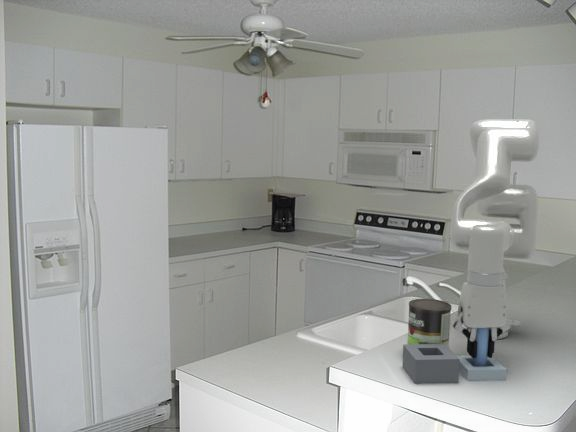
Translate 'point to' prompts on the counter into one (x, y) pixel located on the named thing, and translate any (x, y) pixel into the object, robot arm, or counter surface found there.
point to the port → (430, 363)
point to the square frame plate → (481, 370)
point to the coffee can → (429, 322)
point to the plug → (481, 347)
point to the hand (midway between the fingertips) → (480, 355)
